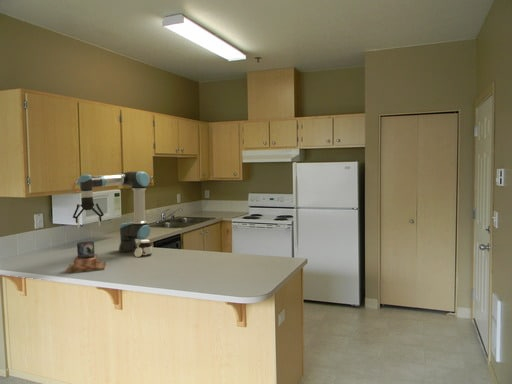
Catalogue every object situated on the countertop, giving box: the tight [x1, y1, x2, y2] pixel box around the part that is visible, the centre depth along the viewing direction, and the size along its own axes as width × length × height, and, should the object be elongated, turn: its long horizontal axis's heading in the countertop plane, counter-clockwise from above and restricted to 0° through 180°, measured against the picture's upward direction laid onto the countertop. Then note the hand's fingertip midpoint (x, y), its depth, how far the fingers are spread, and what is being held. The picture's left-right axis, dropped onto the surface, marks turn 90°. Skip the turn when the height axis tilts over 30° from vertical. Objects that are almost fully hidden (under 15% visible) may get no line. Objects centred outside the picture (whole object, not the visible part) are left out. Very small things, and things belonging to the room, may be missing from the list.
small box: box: [76, 240, 95, 259], centre depth 288 cm, size 11×6×10 cm, turn 106°
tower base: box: [65, 253, 107, 274], centre depth 289 cm, size 24×19×8 cm
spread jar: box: [134, 239, 153, 258], centre depth 323 cm, size 12×11×12 cm
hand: (89, 226), depth 293 cm, fingers open, 13 cm apart
